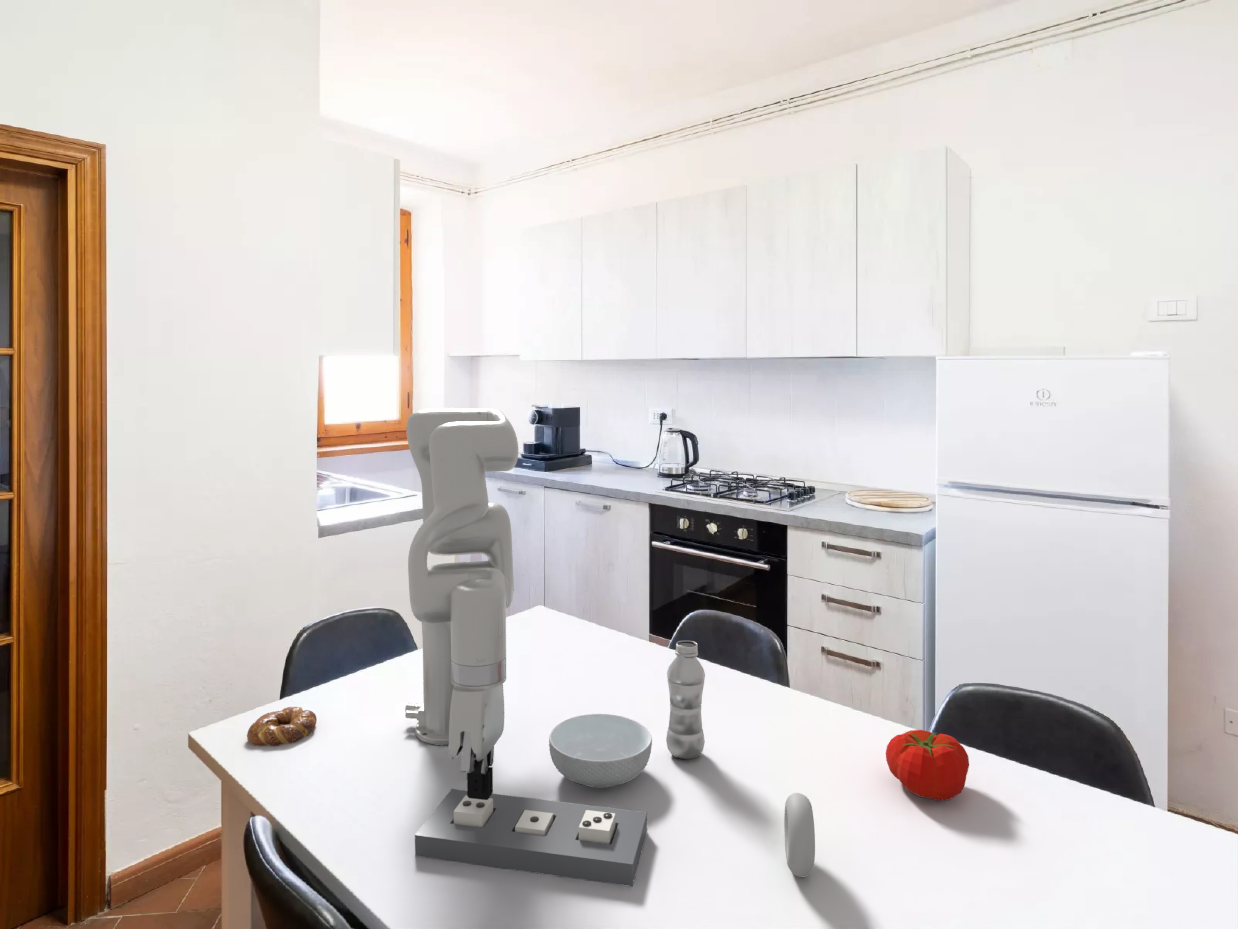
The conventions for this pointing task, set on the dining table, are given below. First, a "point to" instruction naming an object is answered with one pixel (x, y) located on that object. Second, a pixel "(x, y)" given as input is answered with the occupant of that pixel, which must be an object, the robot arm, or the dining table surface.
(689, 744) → the plastic bottle
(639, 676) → the dining table surface
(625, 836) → the button panel
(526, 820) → the button one dot
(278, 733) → the pretzel
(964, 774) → the tomato
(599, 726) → the cereal bowl
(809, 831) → the donut
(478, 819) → the button two dots
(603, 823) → the button three dots
